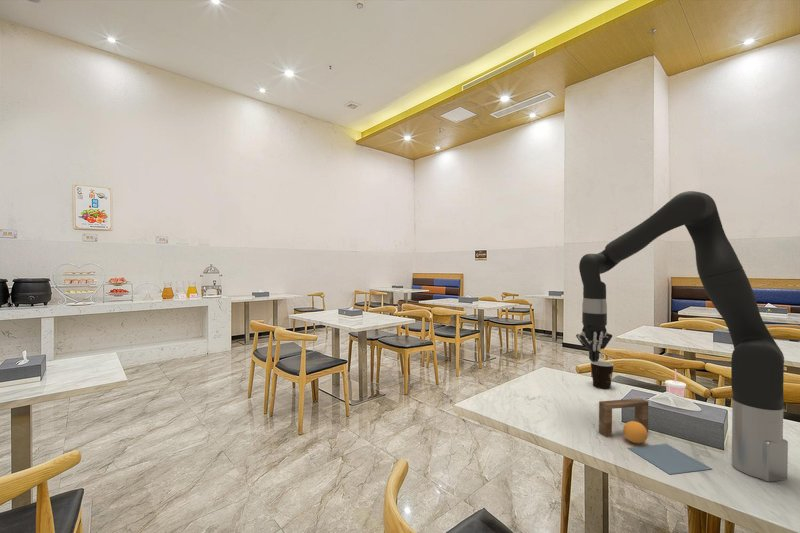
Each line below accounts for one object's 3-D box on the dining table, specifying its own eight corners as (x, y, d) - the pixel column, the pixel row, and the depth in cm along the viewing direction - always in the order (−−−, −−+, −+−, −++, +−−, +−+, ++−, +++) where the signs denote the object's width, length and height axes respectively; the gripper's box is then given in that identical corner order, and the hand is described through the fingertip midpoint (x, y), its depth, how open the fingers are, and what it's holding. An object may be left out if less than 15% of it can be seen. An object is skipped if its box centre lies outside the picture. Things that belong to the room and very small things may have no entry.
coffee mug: (601, 382, 160) (601, 360, 160) (618, 388, 152) (618, 365, 152) (580, 385, 156) (580, 362, 156) (596, 391, 148) (597, 367, 148)
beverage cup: (690, 409, 130) (690, 371, 130) (675, 411, 129) (676, 372, 129) (674, 403, 136) (675, 366, 136) (660, 404, 135) (661, 367, 135)
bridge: (648, 432, 112) (648, 401, 112) (606, 437, 109) (606, 405, 109) (639, 428, 115) (640, 398, 115) (598, 432, 112) (599, 401, 112)
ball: (644, 446, 106) (656, 437, 103) (627, 447, 105) (638, 438, 101) (632, 426, 111) (643, 416, 107) (615, 427, 110) (625, 418, 106)
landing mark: (712, 469, 92) (712, 468, 92) (669, 474, 90) (669, 473, 90) (665, 444, 105) (665, 443, 105) (627, 448, 103) (627, 447, 103)
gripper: (585, 313, 120) (584, 365, 120) (619, 312, 122) (619, 363, 122) (570, 310, 127) (570, 359, 127) (603, 309, 130) (602, 357, 130)
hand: (594, 361), depth 125 cm, fingers closed
